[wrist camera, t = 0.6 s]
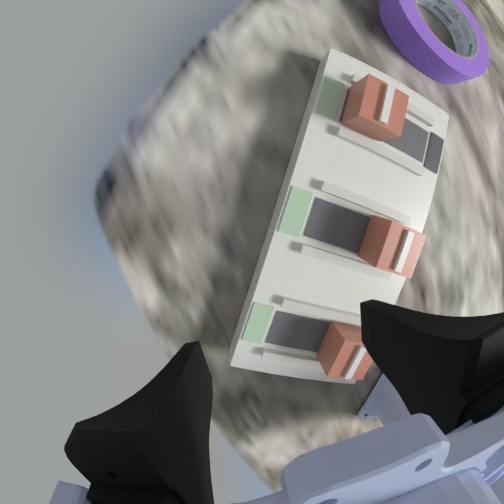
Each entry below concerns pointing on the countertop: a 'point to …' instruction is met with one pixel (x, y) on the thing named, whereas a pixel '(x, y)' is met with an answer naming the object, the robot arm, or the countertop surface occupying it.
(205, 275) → the countertop surface
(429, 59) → the masking tape
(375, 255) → the switch mid
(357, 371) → the switch
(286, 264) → the switch strip
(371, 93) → the switch
